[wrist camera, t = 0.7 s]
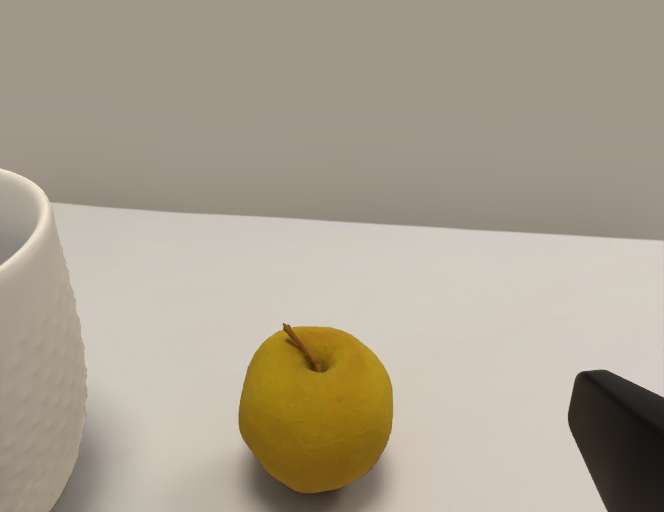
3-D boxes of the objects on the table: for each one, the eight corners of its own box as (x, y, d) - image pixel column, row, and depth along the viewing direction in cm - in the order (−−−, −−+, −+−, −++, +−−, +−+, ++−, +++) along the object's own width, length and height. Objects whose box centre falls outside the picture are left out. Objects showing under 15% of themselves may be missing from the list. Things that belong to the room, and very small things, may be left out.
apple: (236, 428, 30) (224, 294, 26) (364, 408, 32) (374, 277, 27) (252, 549, 25) (240, 407, 21) (404, 519, 26) (424, 380, 22)
